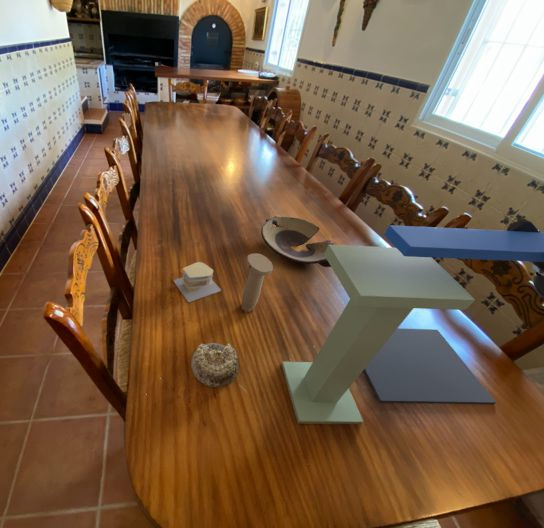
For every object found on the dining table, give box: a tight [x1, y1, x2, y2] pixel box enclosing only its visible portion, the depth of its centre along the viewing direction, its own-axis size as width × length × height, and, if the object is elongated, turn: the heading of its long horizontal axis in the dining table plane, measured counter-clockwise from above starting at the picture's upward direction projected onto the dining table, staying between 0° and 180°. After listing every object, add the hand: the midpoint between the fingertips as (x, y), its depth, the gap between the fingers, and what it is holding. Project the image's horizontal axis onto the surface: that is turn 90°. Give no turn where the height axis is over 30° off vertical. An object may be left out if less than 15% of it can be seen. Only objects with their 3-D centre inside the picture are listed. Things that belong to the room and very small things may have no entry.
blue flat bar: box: [383, 224, 544, 262], centre depth 36 cm, size 22×4×1 cm, turn 92°
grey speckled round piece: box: [190, 342, 240, 389], centre depth 60 cm, size 10×10×5 cm
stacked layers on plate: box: [172, 261, 222, 303], centre depth 78 cm, size 10×9×6 cm
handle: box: [241, 252, 274, 313], centre depth 70 cm, size 5×6×15 cm
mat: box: [363, 327, 497, 405], centre depth 65 cm, size 24×18×1 cm
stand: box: [281, 244, 476, 425], centre depth 48 cm, size 14×12×32 cm
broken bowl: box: [260, 215, 335, 268], centre depth 91 cm, size 22×30×8 cm
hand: (536, 237), depth 35 cm, fingers closed on blue flat bar, 4 cm apart
